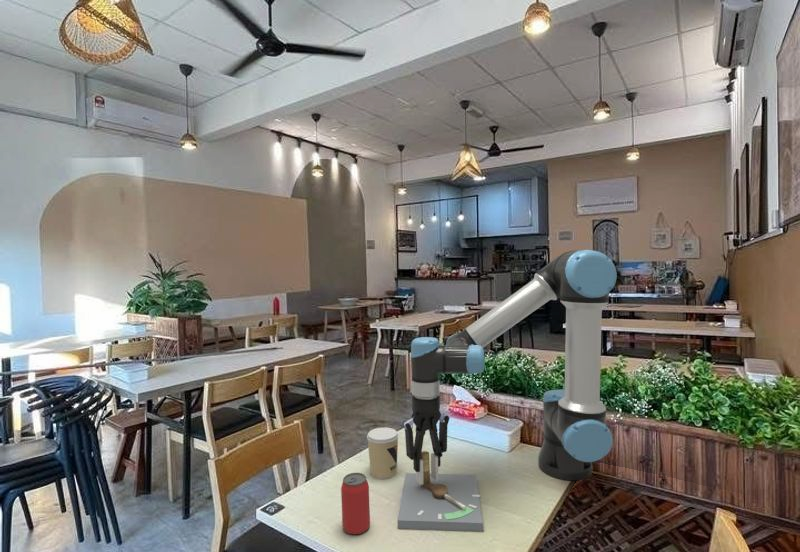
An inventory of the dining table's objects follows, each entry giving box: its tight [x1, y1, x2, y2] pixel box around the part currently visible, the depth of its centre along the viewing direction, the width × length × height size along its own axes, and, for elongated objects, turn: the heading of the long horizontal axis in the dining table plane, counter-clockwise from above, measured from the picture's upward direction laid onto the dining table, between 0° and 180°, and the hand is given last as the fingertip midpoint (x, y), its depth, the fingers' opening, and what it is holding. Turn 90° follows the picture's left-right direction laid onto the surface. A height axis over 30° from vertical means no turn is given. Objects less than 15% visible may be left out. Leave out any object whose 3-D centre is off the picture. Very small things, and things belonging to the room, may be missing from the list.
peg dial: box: [421, 450, 466, 510], centre depth 109 cm, size 16×4×9 cm, turn 36°
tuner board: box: [397, 472, 484, 532], centre depth 110 cm, size 20×22×2 cm
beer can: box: [340, 472, 371, 535], centre depth 101 cm, size 7×7×12 cm
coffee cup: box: [366, 427, 399, 480], centre depth 127 cm, size 9×9×12 cm
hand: (427, 480), depth 115 cm, fingers open, 4 cm apart
